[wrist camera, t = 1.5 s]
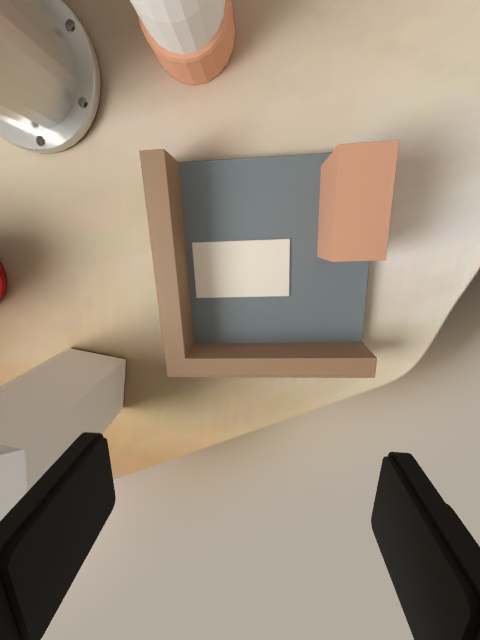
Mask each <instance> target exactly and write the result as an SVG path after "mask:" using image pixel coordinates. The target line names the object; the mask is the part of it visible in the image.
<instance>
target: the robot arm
mask: <svg viewBox="0 0 480 640" xmlns="http://www.w3.org/2000/svg"><path fill="white" fill-rule="evenodd" d="M100 87H101V85H100V71H99V66H98V61H97V57H96V53H95V50H94V48H93V45H92V43H91V40H90V38H89V36H88V34H87V32H86V31H85V29H84V27H83V25H82V23H81V22H80V21H79V20H78V18H77V17H76V16H75V15H74V13H73V12H72V11H71V9H70V8H69V7H68V6H67V5H66V4H65V3H64V2H63V1H62V0H0V136H1V137H2V138H3V139H4V140H6V141H8V142H10V143H12V144H13V145H15V146H18V147H20V148H23V149H25V150H28V151H32V152H37V153H55V152H59V151H63V150H65V149H67V148H69V147H71V146H73V145H74V144H76V143H77V142H78V141H79V140H80V139H81V138H82V137H83V136H84V135H85V133H86V132H87V131H88V129H89V128H90V126H91V124H92V122H93V120H94V118H95V115H96V112H97V108H98V104H99V99H100ZM114 504H115V491H114V484H113V477H112V470H111V463H110V456H109V449H108V443H107V439H106V438H103V435H102V434H101V433H92V432H84V433H82V434H81V435H80V436H79V437H78V438H77V439H76V440H75V441H74V442H73V443H72V444H71V445H70V446H69V447H68V449H67V450H66V451H65V452H64V453H63V454H62V455H61V456H60V457H59V458H58V459H57V460H56V461H55V463H54V464H53V465H52V466H51V467H50V468H49V469H48V470H47V471H46V472H45V473H44V474H43V476H42V477H41V478H40V479H39V480H38V481H37V482H36V483H35V484H34V485H33V486H32V487H31V488H30V490H29V491H28V492H27V493H26V494H25V495H24V496H23V497H22V498H21V499H20V500H19V501H18V503H17V504H16V505H15V506H14V507H13V508H12V509H11V510H10V511H9V512H8V513H7V514H6V515H5V517H4V518H3V519H2V520H1V521H0V640H40V639H41V638H42V636H43V635H44V633H45V631H46V629H47V628H48V626H49V624H50V622H51V620H52V618H53V617H54V615H55V613H56V611H57V609H58V608H59V606H60V604H61V602H62V600H63V598H64V597H65V595H66V593H67V591H68V589H69V588H70V586H71V584H72V582H73V580H74V579H75V577H76V575H77V573H78V571H79V569H80V568H81V566H82V564H83V562H84V560H85V559H86V557H87V555H88V553H89V551H90V550H91V548H92V546H93V544H94V542H95V540H96V539H97V537H98V535H99V533H100V531H101V530H102V528H103V526H104V524H105V522H106V520H107V519H108V517H109V515H110V513H111V511H112V509H113V507H114ZM371 523H372V529H373V532H374V535H375V538H376V540H377V543H378V546H379V548H380V551H381V553H382V556H383V558H384V561H385V564H386V566H387V569H388V572H389V574H390V577H391V580H392V582H393V585H394V587H395V590H396V593H397V595H398V598H399V601H400V603H401V606H402V608H403V611H404V614H405V616H406V619H407V622H408V624H409V627H410V629H411V632H412V635H413V637H414V640H480V547H479V546H478V544H477V543H476V541H475V540H474V539H473V537H472V536H471V534H470V533H469V531H468V530H467V529H466V527H465V526H464V524H463V523H462V521H461V520H460V519H459V517H458V516H457V514H456V513H455V512H454V510H453V509H452V508H451V507H450V506H449V505H448V504H446V503H445V502H444V500H443V499H442V497H441V496H440V494H439V493H438V492H437V490H436V489H435V487H434V486H433V484H432V483H431V482H430V480H429V479H428V477H427V476H426V474H425V473H424V471H423V470H422V469H421V467H420V466H419V464H418V463H417V461H416V460H415V459H414V457H413V456H412V455H411V454H409V453H398V452H390V453H389V454H388V457H384V458H383V461H382V466H381V471H380V476H379V481H378V486H377V492H376V497H375V502H374V507H373V512H372V519H371Z"/></svg>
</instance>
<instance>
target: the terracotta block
mask: <svg viewBox="0 0 480 640" xmlns="http://www.w3.org/2000/svg"><path fill="white" fill-rule="evenodd" d="M398 145H399V140H397V141H381V142H366V143H350V144H339V145H338V146H337V147H336V148H335V149H334V151H333V152H332V153H331V154H330V155H329V157H328V158H327V159H326V160H325V162H324V163H323V164H322V165H321V174H320V199H319V223H318V248H317V257H319V258H322V259H325V260H328V261H331V262H345V261H378V260H386V255H387V246H388V237H389V227H390V218H391V209H392V200H393V191H394V182H395V172H396V163H397V154H398Z"/></svg>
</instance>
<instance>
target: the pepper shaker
mask: <svg viewBox="0 0 480 640" xmlns="http://www.w3.org/2000/svg"><path fill="white" fill-rule="evenodd" d="M130 2H131V4H132V5H133V7H134V9H135V10H136V12H137V14H138V19H139V24H140V27H141V29H142V31H143V33H144V35H145V37H146V39H147V41H148V43H149V45H150V46H151V48H152V50H153V52H154V53H155V55H156V57H157V59H158V60H159V62H160V64H161V65H162V67H163V68H164V69H165V70H166V71H167V72H168V74H169V75H170V76H171V77H173V78H174V79H176V80H178V81H180V82H181V83H184V84H190V85H199V84H203V83H207V82H209V81H210V80H212V79H214V78H215V77H217V76H218V75H219V74H220V73H221V71H222V70H223V69H224V68H225V66H226V65H227V64H228V61H229V59H230V57H231V54H232V52H233V49H234V41H235V33H236V32H235V24H234V16H233V8H232V0H130Z"/></svg>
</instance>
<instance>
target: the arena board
mask: <svg viewBox="0 0 480 640" xmlns="http://www.w3.org/2000/svg"><path fill="white" fill-rule="evenodd" d="M139 152H140V160H141V168H142V176H143V184H144V192H145V200H146V208H147V217H148V225H149V233H150V241H151V249H152V257H153V265H154V273H155V282H156V290H157V298H158V306H159V314H160V322H161V330H162V338H163V347H164V355H165V363H166V371H167V377H318V378H375V371H376V362H377V358H376V357H375V356H374V355H373V353H372V352H371V351H370V350H369V349H368V348H367V347H366V346H365V345H364V344H363V343H362V334H363V324H364V313H365V302H366V291H367V281H368V270H369V261H345V262H331V261H328V260H325V259H322V258H319V257H317V248H318V223H319V199H320V174H321V165H322V164H323V163H324V162H325V160H326V159H327V158H328V157H329V155H330V154H331V153H321V154H305V155H289V156H273V157H257V158H241V159H225V160H209V161H193V162H177V161H176V160H175V159H174V158H173V157H172V156H171V155H170V154H169V153H168V152H167V151H165V150H164V149H157V150H142V151H139Z"/></svg>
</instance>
